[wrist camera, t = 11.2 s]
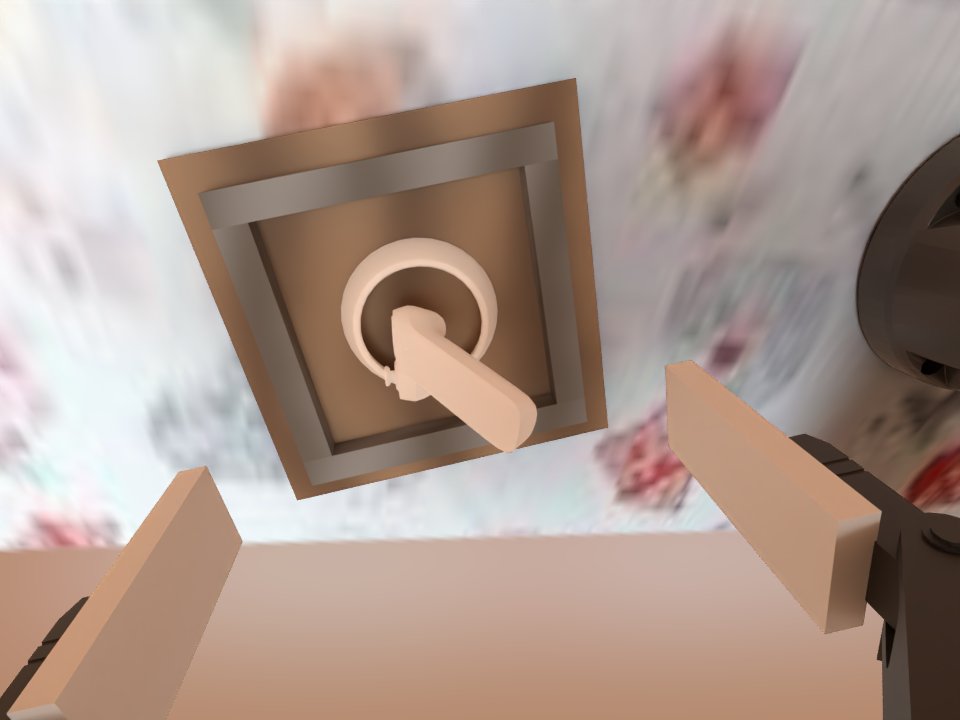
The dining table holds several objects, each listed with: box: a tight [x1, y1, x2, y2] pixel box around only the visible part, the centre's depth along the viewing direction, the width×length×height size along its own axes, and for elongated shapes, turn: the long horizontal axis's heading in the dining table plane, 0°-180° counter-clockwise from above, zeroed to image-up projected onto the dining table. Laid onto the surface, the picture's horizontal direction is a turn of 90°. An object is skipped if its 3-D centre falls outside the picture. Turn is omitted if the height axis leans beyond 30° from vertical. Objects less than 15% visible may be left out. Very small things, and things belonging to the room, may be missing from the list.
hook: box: [341, 238, 537, 453], centre depth 23 cm, size 8×12×7 cm
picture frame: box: [158, 78, 608, 500], centre depth 26 cm, size 18×18×2 cm
